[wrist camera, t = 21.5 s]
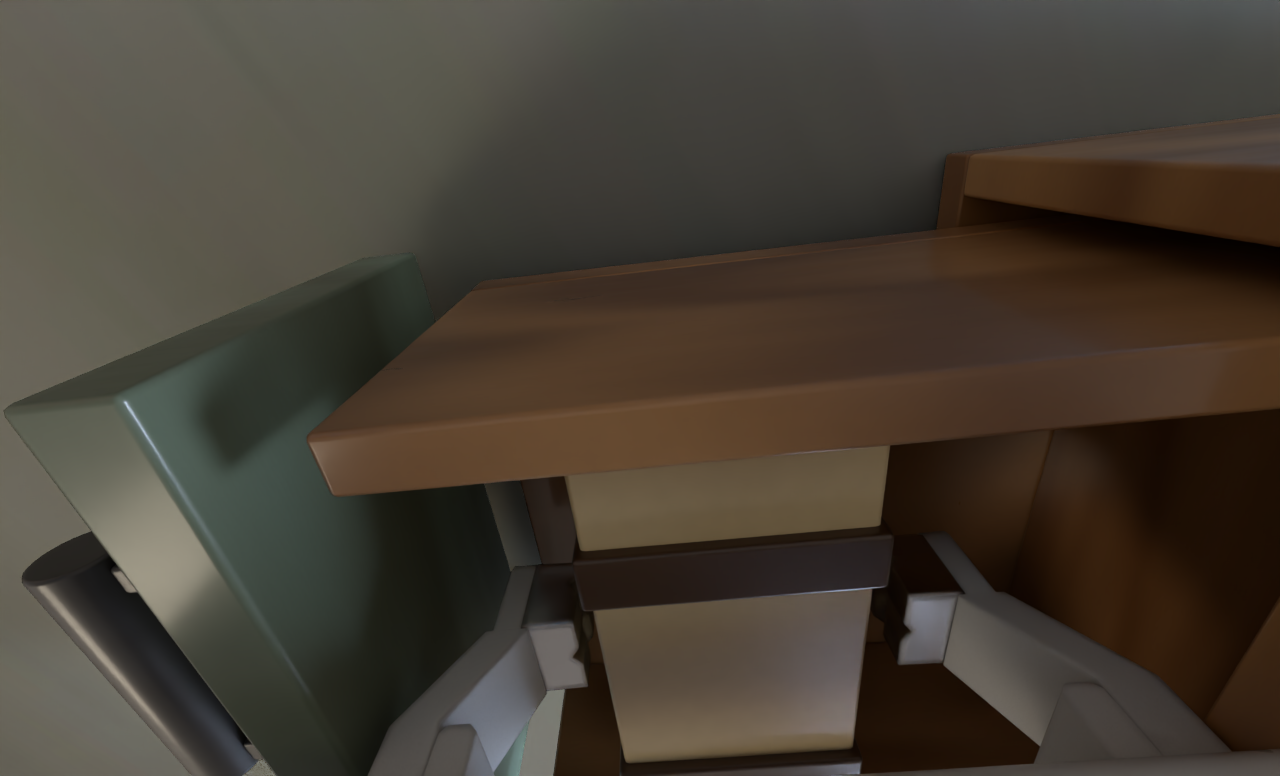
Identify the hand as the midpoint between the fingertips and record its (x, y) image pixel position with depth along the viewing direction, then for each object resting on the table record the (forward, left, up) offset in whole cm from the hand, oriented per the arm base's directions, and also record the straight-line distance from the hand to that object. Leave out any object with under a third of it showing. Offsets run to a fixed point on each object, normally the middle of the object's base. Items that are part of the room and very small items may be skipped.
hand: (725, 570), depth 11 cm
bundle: (0, 0, -2) cm, 2 cm away
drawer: (0, +2, -3) cm, 3 cm away
